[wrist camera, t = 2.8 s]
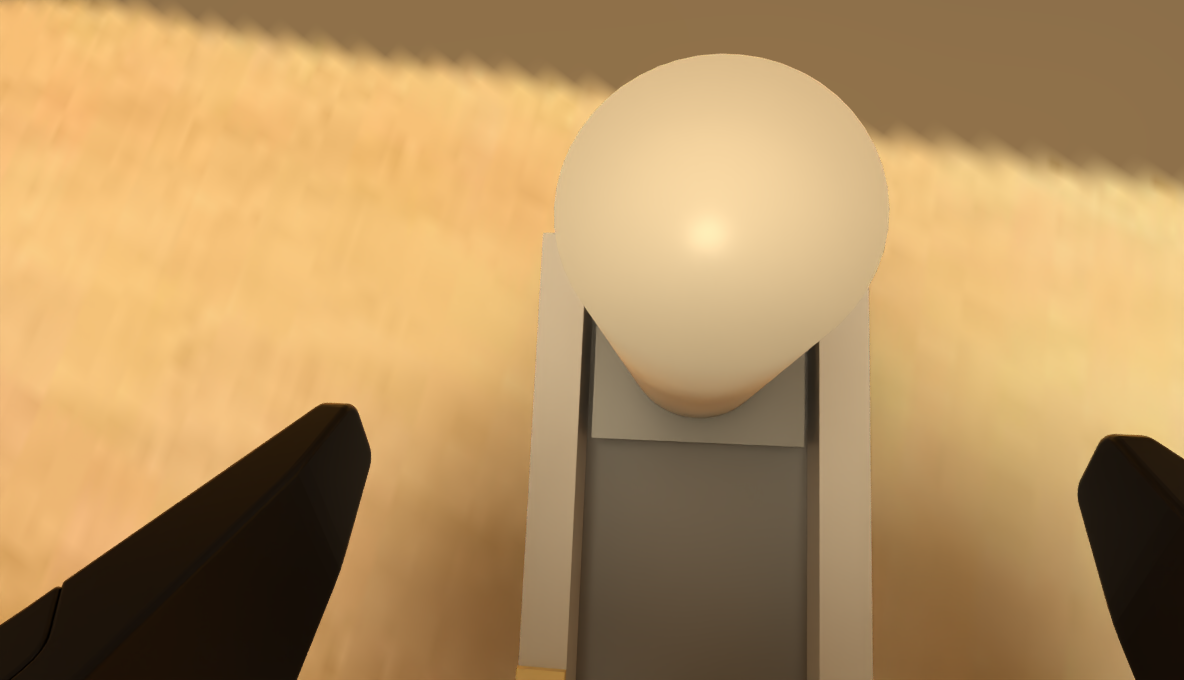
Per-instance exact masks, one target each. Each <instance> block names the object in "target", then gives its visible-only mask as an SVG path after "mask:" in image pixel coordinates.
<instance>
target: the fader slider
mask: <svg viewBox="0 0 1184 680" xmlns="http://www.w3.org/2000/svg"><path fill="white" fill-rule="evenodd" d="M888 223H889V198H888V186H887V182H886V178H885V173H884V169H883V165H882V163H881V160H880V157H879V155H878V152H877V150H876V147H875V145H874V143H873V141H872V140H871V138H870V136H869V134H868V132H867V131H866V129H865V127H864V126H863V125H862V123H861V122H860V121H859V119H858V118H857V117H856V115H855V114H854V113H853V111H852V110H851V109H850V108H849V107H848V106H847V105H846V104H845V103H844V102H843V101H842V100H841V99H840V98H839V97H838V96H837V95H836V94H834V93H833V92H832V91H831V90H829V89H828V88H827V87H825V86H824V85H823V84H822V83H820V82H818V81H817V80H815V79H813V78H812V77H810V76H808V75H806V74H805V73H803V72H801V71H799V70H796V69H794V68H792V67H789V66H787V65H785V64H782V63H779V62H775V61H771V60H768V59H764V58H760V57H754V56H747V55H741V54H712V55H699V56H694V57H689V58H685V59H680V60H676V61H673V62H670V63H667V64H664V65H661V66H658V67H656V68H654V69H652V70H650V71H648V72H646V73H644V74H642V75H639V76H638V77H636V78H635V79H633V80H631V81H630V82H628V83H627V84H625V85H623V86H622V87H621V88H619V89H618V90H617V91H616V92H614V93H613V94H612V95H611V96H610V97H608V98H607V99H606V100H605V101H604V102H603V103H602V104H601V105H600V106H599V107H598V108H597V109H596V110H595V111H594V112H593V113H592V114H591V116H590V117H589V118H588V120H587V121H586V123H585V124H584V125H583V127H582V128H581V129H580V131H579V132H578V134H577V136H576V138H575V139H574V141H573V143H572V145H571V146H570V148H569V151H568V153H567V155H566V158H565V160H564V163H563V165H562V168H561V172H560V176H559V180H558V183H557V188H556V196H555V204H554V228H555V235H556V242H557V248H558V251H559V255H560V258H561V262H562V265H563V268H564V270H565V273H566V275H567V277H568V279H569V282H570V284H571V286H572V288H573V289H574V291H575V292H576V294H577V296H578V297H579V299H580V301H581V302H582V304H583V305H584V307H585V308H586V310H587V311H588V313H589V314H590V315H591V317H592V318H593V320H594V321H595V323H596V324H597V327H596V349H595V371H594V393H593V415H592V437H591V438H597V439H614V440H637V441H659V442H681V443H704V444H726V445H749V446H771V447H793V448H795V447H804V422H805V352H806V351H808V350H809V349H810V348H811V347H812V346H814V345H815V344H816V343H817V342H819V341H820V340H821V339H822V338H823V337H825V336H826V335H827V334H828V333H829V332H831V331H832V330H833V329H834V328H836V327H837V326H838V325H839V324H840V323H841V322H842V321H843V320H844V319H845V318H846V316H847V315H848V314H849V313H850V312H851V311H852V310H853V309H854V308H855V306H856V305H857V303H858V302H859V301H860V299H861V298H862V296H863V295H864V294H865V292H866V291H867V289H868V287H869V285H870V283H871V281H872V279H873V277H874V275H875V273H876V271H877V269H878V266H879V263H880V260H881V257H882V255H883V252H884V248H885V243H886V238H887V233H888Z"/></svg>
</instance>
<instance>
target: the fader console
mask: <svg viewBox="0 0 1184 680" xmlns="http://www.w3.org/2000/svg"><path fill="white" fill-rule="evenodd" d="M596 327H597V324H596V323H595V321H594V320H593V318H592V317H591V315H590V314H589V313H588V311H587V310H586V308H585V307H584V305H583V304H582V302H581V301H580V299H579V297H578V296H577V294H576V292H575V291H574V289H573V288H572V286H571V284H570V282H569V279H568V277H567V275H566V273H565V270H564V268H563V265H562V262H561V258H560V255H559V251H558V248H557V242H556V235H555V233H543V245H542V262H541V280H540V297H539V314H538V332H537V349H536V366H535V384H534V401H533V419H532V436H531V453H530V471H529V488H528V505H527V523H526V540H525V558H524V575H523V592H522V610H521V627H520V644H519V662H518V666H517V668H516V678H515V680H873V632H872V538H871V444H870V351H869V287H868V289H867V291H866V292H865V294H864V295H863V296H862V298H861V299H860V301H859V302H858V303H857V305H856V306H855V308H854V309H853V310H852V311H851V312H850V313H849V314H848V315H847V316H846V318H845V319H844V320H843V321H842V322H841V323H840V324H839V325H838V326H837V327H836V328H834V329H833V330H832V331H831V332H829V333H828V334H827V335H826V336H825V337H823V338H822V339H821V340H820V341H819V342H817V343H816V344H815V345H814V346H812V347H811V348H810V349H809V350H808V351H806V352H805V422H804V447H795V448H793V447H771V446H749V445H726V444H704V443H681V442H659V441H637V440H614V439H597V438H591V437H592V415H593V393H594V371H595V349H596Z"/></svg>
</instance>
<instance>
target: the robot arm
mask: <svg viewBox="0 0 1184 680" xmlns="http://www.w3.org/2000/svg"><path fill="white" fill-rule="evenodd" d="M370 463H371V450H370V446H369V443H368V440H367V437H366V434H365V431H364V428H363V425H362V422H361V419H360V416H359V413H358V411H357V409H356V408H355V407H354V406H353V405H351V404H344V403H323V404H320V405H319V406H317V407H315V408H314V409H312V410H311V411H309V412H308V413H307V414H305V415H304V416H302V417H301V418H299V419H298V420H296V421H295V422H294V423H292V424H291V425H289V426H288V427H286V428H285V429H283V430H282V431H281V432H279V433H278V434H276V435H275V436H273V437H272V438H270V439H269V440H268V441H266V442H265V443H263V444H262V445H260V446H259V447H257V448H256V449H255V450H253V451H252V452H250V453H249V454H247V455H246V456H244V457H243V458H242V459H240V460H239V461H237V462H236V463H234V464H233V465H231V466H230V467H229V468H227V469H226V470H224V471H223V472H221V473H220V474H218V475H217V476H216V477H214V478H213V479H211V480H210V481H208V482H207V483H206V484H204V485H203V486H201V487H200V488H198V489H197V490H195V491H194V492H193V493H191V494H190V495H188V496H187V497H185V498H184V499H182V500H181V501H180V502H178V503H177V504H175V505H174V506H172V507H171V508H169V509H168V510H167V511H165V512H164V513H162V514H161V515H159V516H158V517H156V518H155V519H154V520H152V521H151V522H149V523H148V524H146V525H145V526H143V527H142V528H141V529H139V530H138V531H136V532H135V533H133V534H132V535H130V536H129V537H128V538H126V539H125V540H123V541H122V542H120V543H119V544H117V545H116V546H115V547H113V548H112V549H110V550H109V551H107V552H106V553H104V554H103V555H102V556H100V557H99V558H97V559H96V560H94V561H93V562H91V563H90V564H89V565H87V566H86V567H84V568H83V569H81V570H80V571H78V572H77V573H76V574H74V575H73V576H71V577H70V578H68V579H67V580H65V581H64V582H63V585H62V587H55V588H54V589H52V590H51V591H49V592H48V593H46V594H45V595H44V596H42V597H41V598H39V599H38V600H36V601H35V602H33V603H32V604H31V605H29V606H28V607H26V608H25V609H23V610H22V611H20V612H19V613H17V614H16V615H14V616H13V617H11V618H10V619H8V620H7V621H5V622H4V623H2V624H1V625H0V680H297V678H298V675H299V673H300V671H301V668H302V666H303V663H304V661H305V658H306V656H307V653H308V651H309V648H310V646H311V643H312V641H313V638H314V636H315V633H316V631H317V628H318V626H319V623H320V621H321V618H322V616H323V613H324V611H325V609H326V606H327V604H328V601H329V599H330V596H331V594H332V591H333V589H334V586H335V583H336V581H337V578H338V575H339V573H340V570H341V567H342V564H343V560H344V557H345V554H346V550H347V547H348V543H349V540H350V536H351V533H352V529H353V525H354V522H355V518H356V515H357V511H358V507H359V504H360V500H361V497H362V493H363V490H364V486H365V482H366V479H367V475H368V472H369V468H370ZM1078 502H1079V507H1080V510H1081V514H1082V517H1083V521H1084V524H1085V528H1086V531H1087V535H1088V539H1089V542H1090V546H1091V549H1092V553H1093V556H1094V560H1095V563H1096V567H1097V570H1098V574H1099V578H1100V581H1101V585H1102V588H1103V592H1104V595H1105V599H1106V602H1107V606H1108V609H1109V612H1110V615H1111V618H1112V621H1113V625H1114V627H1115V630H1116V633H1117V635H1118V638H1119V640H1120V643H1121V646H1122V648H1123V651H1124V653H1125V655H1126V658H1127V660H1128V663H1129V665H1130V668H1131V670H1132V672H1133V675H1134V677H1135V680H1184V459H1183V458H1182V457H1180V456H1179V455H1177V454H1175V453H1174V452H1172V451H1171V450H1169V449H1168V448H1166V447H1165V446H1163V445H1162V444H1160V443H1159V442H1157V441H1156V440H1154V439H1152V438H1150V437H1147V436H1142V435H1122V434H1111V435H1107V436H1105V437H1104V438H1103V439H1102V440H1101V441H1100V442H1099V444H1098V446H1097V448H1096V450H1095V452H1094V454H1093V456H1092V458H1091V460H1090V462H1089V464H1088V466H1087V468H1086V470H1085V472H1084V474H1083V476H1082V478H1081V480H1080V482H1079V486H1078Z"/></svg>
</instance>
